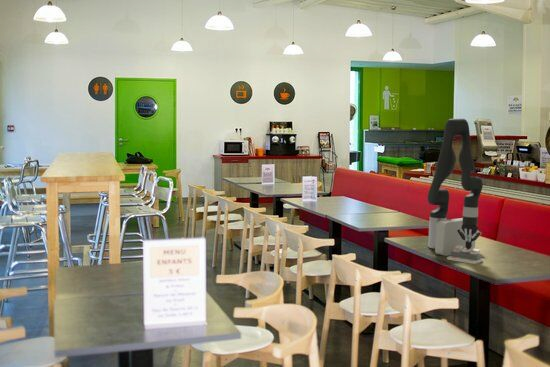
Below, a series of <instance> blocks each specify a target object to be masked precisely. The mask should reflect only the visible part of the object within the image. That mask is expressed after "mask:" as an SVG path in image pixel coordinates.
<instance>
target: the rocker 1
mask: <svg viewBox="0 0 550 367" xmlns="http://www.w3.org/2000/svg"><path fill="white" fill-rule="evenodd" d="M462 248H463V246H459V245H457V246H456V247H455V248H454V250H453V252H460V251H461V250H462Z"/></svg>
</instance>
